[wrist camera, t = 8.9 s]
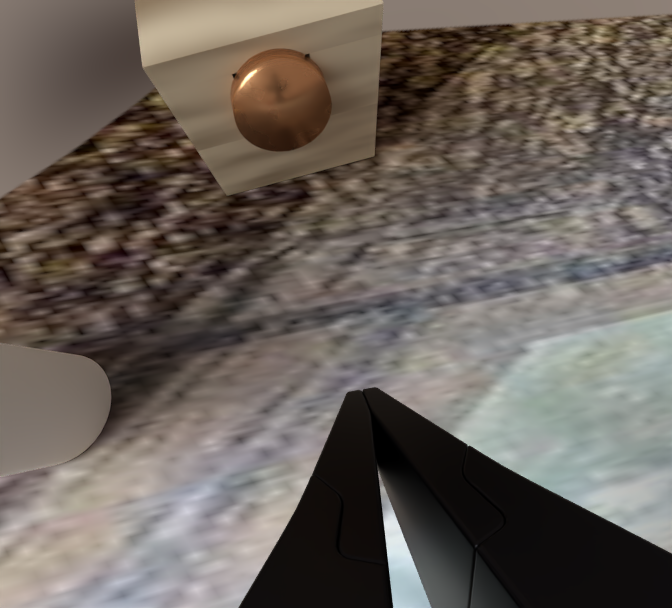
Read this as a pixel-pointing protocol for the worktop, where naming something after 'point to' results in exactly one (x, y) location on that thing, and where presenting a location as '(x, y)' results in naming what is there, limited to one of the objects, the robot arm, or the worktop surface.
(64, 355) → the cylindrical container
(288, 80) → the peg
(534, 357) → the worktop surface
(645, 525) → the worktop surface
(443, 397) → the worktop surface
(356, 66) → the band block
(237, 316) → the worktop surface
